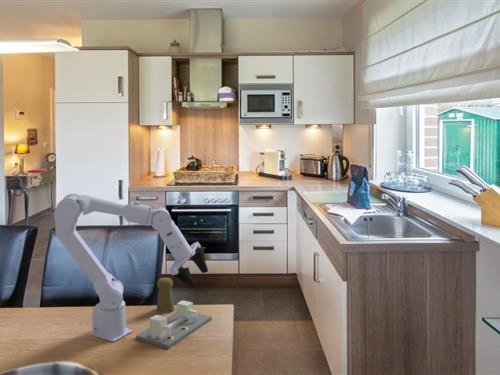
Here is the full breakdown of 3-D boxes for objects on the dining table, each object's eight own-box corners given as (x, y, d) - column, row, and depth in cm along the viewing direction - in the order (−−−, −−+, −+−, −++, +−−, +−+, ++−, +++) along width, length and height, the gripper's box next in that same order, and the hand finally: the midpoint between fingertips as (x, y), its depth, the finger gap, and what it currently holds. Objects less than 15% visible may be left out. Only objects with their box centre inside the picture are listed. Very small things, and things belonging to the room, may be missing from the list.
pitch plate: (136, 338, 133) (135, 318, 133) (181, 312, 153) (181, 294, 152) (168, 348, 128) (168, 327, 127) (211, 319, 147) (211, 301, 146)
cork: (172, 313, 152) (172, 281, 150) (154, 313, 152) (153, 281, 150) (175, 306, 158) (175, 275, 156) (158, 306, 158) (157, 275, 156)
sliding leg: (177, 317, 145) (176, 303, 144) (182, 314, 147) (182, 300, 147) (193, 322, 142) (193, 307, 141) (199, 318, 144) (199, 304, 144)
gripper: (172, 254, 129) (197, 292, 132) (197, 227, 140) (219, 262, 144) (156, 259, 133) (180, 296, 136) (181, 233, 144) (203, 267, 148)
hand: (199, 279), depth 140 cm, fingers open, 7 cm apart
